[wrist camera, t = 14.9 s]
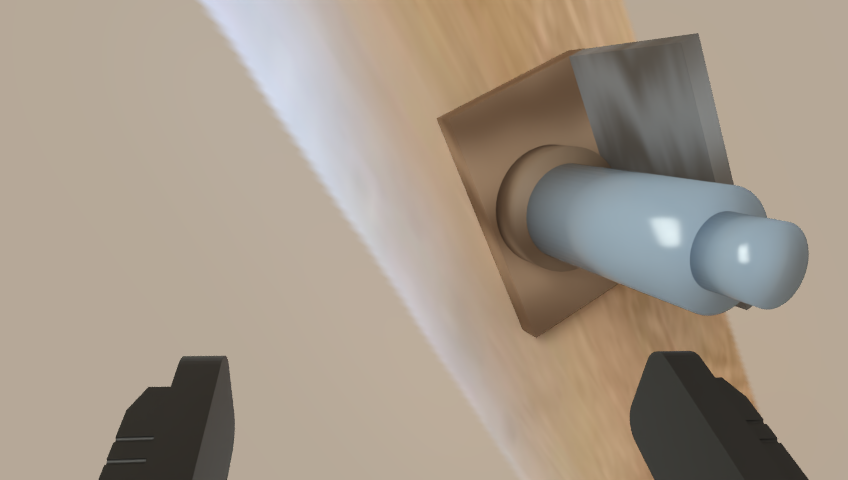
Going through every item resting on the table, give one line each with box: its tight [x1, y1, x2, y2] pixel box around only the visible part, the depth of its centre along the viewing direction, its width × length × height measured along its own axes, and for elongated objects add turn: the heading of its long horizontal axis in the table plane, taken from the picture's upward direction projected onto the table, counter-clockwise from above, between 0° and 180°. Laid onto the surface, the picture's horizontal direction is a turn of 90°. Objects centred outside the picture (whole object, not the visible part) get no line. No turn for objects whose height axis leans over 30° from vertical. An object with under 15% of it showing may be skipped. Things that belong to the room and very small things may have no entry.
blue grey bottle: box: [526, 163, 808, 315], centre depth 27 cm, size 5×5×12 cm
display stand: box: [437, 33, 752, 337], centre depth 32 cm, size 14×9×10 cm, turn 24°
